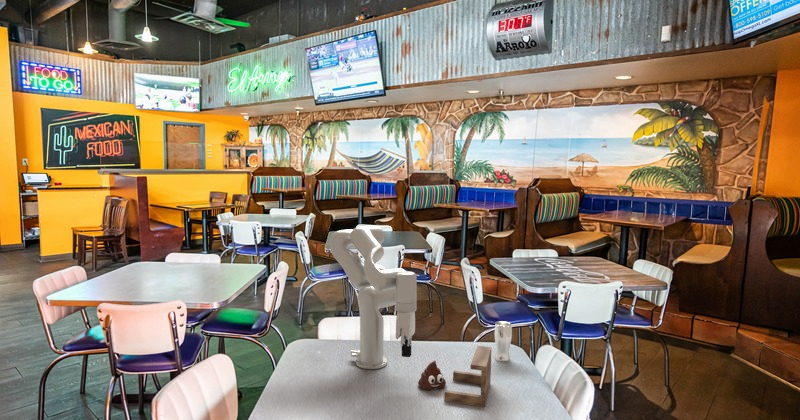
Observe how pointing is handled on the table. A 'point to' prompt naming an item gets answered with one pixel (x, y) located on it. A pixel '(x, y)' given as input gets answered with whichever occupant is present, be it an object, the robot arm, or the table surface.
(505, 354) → the white cylindrical piece
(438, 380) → the poop emoji
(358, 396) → the table surface
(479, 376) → the cubby
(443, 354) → the table surface
